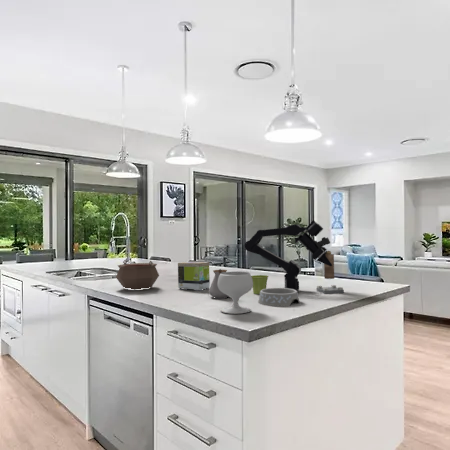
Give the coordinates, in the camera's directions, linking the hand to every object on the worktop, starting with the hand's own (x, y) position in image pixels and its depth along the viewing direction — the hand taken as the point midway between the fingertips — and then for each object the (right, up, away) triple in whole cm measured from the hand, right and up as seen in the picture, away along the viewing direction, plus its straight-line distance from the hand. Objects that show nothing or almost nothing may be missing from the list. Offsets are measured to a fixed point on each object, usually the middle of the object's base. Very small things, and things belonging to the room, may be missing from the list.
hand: (332, 265), depth 190 cm
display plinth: (-1, -13, 0) cm, 13 cm away
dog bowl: (-30, -14, -24) cm, 41 cm away
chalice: (-49, -14, -41) cm, 65 cm away
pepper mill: (-1, -7, 0) cm, 7 cm away
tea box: (-71, -15, +20) cm, 75 cm away
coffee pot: (-56, -15, -13) cm, 59 cm away
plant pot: (-36, -14, 0) cm, 39 cm away
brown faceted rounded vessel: (-103, -16, +24) cm, 107 cm away
